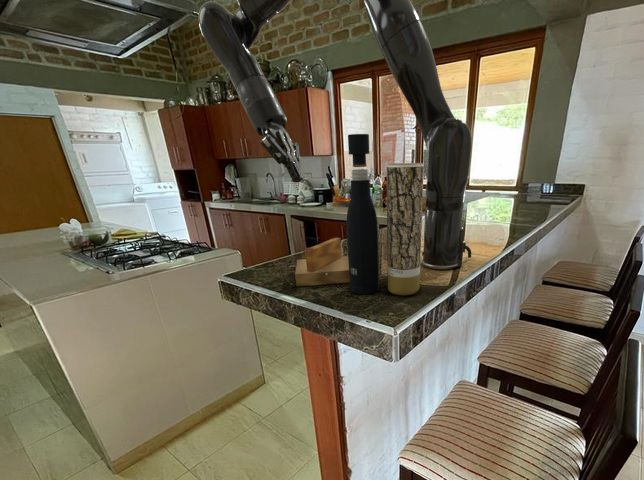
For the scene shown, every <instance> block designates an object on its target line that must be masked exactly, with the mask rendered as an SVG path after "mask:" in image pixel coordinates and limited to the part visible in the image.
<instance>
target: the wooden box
mask: <svg viewBox="0 0 644 480" xmlns="http://www.w3.org/2000/svg"><path fill="white" fill-rule="evenodd" d="M341 256H342V257H341V258H339V259H337V260H335V261H334V262H332V263H330V264H328V265H326V266H324V267H322V268H320V269H318V270H316V271H314V272H308V271H307V265H306V258H301V259H297V260H296V264H295V265H289V266H288V267H289V268H295V272H294V276H295V284H296V287H308V286H319V285H320V286H321V285H333V284H346V283H350V278H349V261H348V255H345V256H343V255H341Z"/></svg>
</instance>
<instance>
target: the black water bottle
mask: <svg viewBox="0 0 644 480" xmlns="http://www.w3.org/2000/svg"><path fill="white" fill-rule="evenodd" d="M347 145H348V155H351V156H352V167H353V168H358V169H351V180H350V198H349V203H348V207H347V211H346V212H347V213H346V220H345V221H346V222H345V226H346V243H347V256H348V261H349V278H350V282H349V290H350V292H352V293H353V294H355V295H356V294H357V295H371V294H374V293H377V292H378V291H379V290H380V266H379V265H380V264H379V263H380V261H379V257H380V256H379V221H378V215H377V211H376V207H375V205H374V202H373V199H372V196H371V180H370V179H369V177H370V176H369V170H368V168H366V167H367V155H370V134H369V133H353V134H352V133H351V134H348V135H347ZM359 168H361V169H359ZM362 168H363V169H362ZM364 168H365V169H364Z"/></svg>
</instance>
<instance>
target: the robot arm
mask: <svg viewBox="0 0 644 480" xmlns="http://www.w3.org/2000/svg"><path fill="white" fill-rule="evenodd" d="M362 1H363V4H364V7H365V11H366V13H367V16H368V19H369V23H370V27H371V29H372V32H373V35H374V38H375V39H376V42H377V45H378V47H379V49H380V52H381V54H382V56H383V59H384V60H385V62H386V64H387V67H388V69H389V71H390V73H391V74H392V76H393V78H394V80H395V82H396V84H397V86H398V88H399V90H400V92H401V93H402V95H403V97H404V98H405V101H406V102H407V103H408V105H409V106H410V109H411V110H412V113H413V114H414V118H415V120H416V121H417V124H418V127H419V129H420V132H421V135H422V139H423V142H424V144H425V145H424V146H425V148H426V151H427V153H428V159H427V160H428V161H427V162H428V163H427V178H426V185H425V200H424V201H425V202H424V203H425V204H424V227H423V251H421V256H422V266H424V267H426V268H427V269H432V270H440V271H441V270H442V271H443V270H452V269H455V268H458V267H462V265H463V255H464V254H463V253H466V251H467V258H468V259H471V258H472V250H471V248H470V247H469V246H468V245H467V241H465V234H466V233H465V232H466V230H465V228H464V227H463V220H464V219H463V218H464V206H465V196H466V187H467V184H468V182H469V181H468V180H469V176H470V175H469V173H470V167H471V166H470V164H471V156H472V145H473V139H472V138H473V137H472V132H471V129H470V127H469V125H468V124H467V123H466V122H465V121H464V120H462V119H459V118H456V117H455V115H454V114H453V112H452V110H451V107H450V106H449V104H448V102H447V100H446V97H445V96H444V92H443V89H442V86H441V82H440V77H439V71H438V68H437V64H436V60H435V55H434V52H433V49H432V45H431V42H430V40H429V36H428V35H427V32H426V31H425V27H424V25H423V23H422V21H421V19H420V16H419V14H418V12H417V10H416V8H415V6H414V5H413V3H412V1H411V0H362ZM236 2H237V4H238V7H237V10H236V11H235V12H234V13H232V12H231V11H229V10H228V9H227V8H226V7H225V6H224V5H223V4H221V3H219V2H217V1H213V0H211V1H210V0H209V1H206V2H204V3H203V4H202V5H201V6H200V8H199V11H198V26H199V30H200V32H201V35H202V37H203V39H204V41H205V42H206V44H207V45H208V47H209V49H210V50H211V52H212V53H213V55H214V56H215V58H216V59H217V60H218V62H219V63H220V64H221V65H222V67H223V68H224V70H225V71H226V73H227V75H228V76H229V79H230V81H231V83H232V85H233V87H234V89H235V91H236V93H237V95H238V98H239V101H240V103H241V105H242V107H243V109H244V111H245V113H246V116H247V118H248V119H249V121H250V123H251V125H252V127H253V129H254V131H255V133H256V134H257V135H259V136H261V137H263V138H262V139H261V140H259V143H260V146H262V147H263V148H264V149H265V150H266V152H267V153H268V154H269V155H270V156H271V158H273V160H274V161H276V163H277V164H278V165H281V164H282V166H283V167H284V168H285V169H286V170H287V173H288V174H289V177H290V178H291V180H292V183H297V184H298V183H300V182H302V181H303V180H304V175H303V174H302V171H301V169H300V167H299V165H298V163H299V162H301V154H300V146H299V145H300V144H299V143H298V142H297V141H295V142H292V140H291V137H290V134H289V133H288V132H287V130H286V129H285V128H286V124H287V121H288V119H287V115H286V114H285V112H284V110H283V108H282V106H281V104H280V101H279V99H278V98H277V95H276V93H275V92H274V89H273V88H272V85H270V83H269V81H268V79H267V78H266V76H265V73H264V72H263V69H262V67H261V66H260V63H259V62H258V60H257V58H256V57H255V56H254V55H253V53H252V52H251V51H250V50H249V49H250V48H251V47H252V45H253V44H254V42H255V41H256V39H257V37H258V36H259V35H260V33H261V31H262V29H263V28H264V26H265V25H266V24H268V23H269V22H270V21H272V19H274V18H275V17H276V16H277V15H278V14H280V13H281V12H282V11H283V10H284V9H286V7H287V6H289V4H290V3H291V2H292V0H236Z"/></svg>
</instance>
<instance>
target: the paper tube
mask: <svg viewBox="0 0 644 480" xmlns="http://www.w3.org/2000/svg"><path fill="white" fill-rule="evenodd" d="M424 173H425V165H424V163H423V162H400V163H399V162H397V163H395V162H394V163H387V164H386V250H387V251H386V259H387V260H386V263H387V264H386V269H387V271H386V272H387V290H388V292H389V293H390V294H392V295H395V296H404V297H405V296H411V295H414V294H417V293H418V291H419V290H420V279H421V277H420V275H421V256H422V226H423V223H422V222H423V203H424V200H423V199H424V176H425V174H424Z"/></svg>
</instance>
